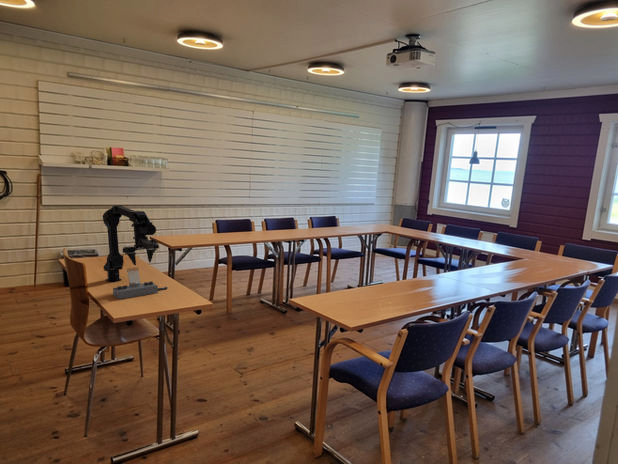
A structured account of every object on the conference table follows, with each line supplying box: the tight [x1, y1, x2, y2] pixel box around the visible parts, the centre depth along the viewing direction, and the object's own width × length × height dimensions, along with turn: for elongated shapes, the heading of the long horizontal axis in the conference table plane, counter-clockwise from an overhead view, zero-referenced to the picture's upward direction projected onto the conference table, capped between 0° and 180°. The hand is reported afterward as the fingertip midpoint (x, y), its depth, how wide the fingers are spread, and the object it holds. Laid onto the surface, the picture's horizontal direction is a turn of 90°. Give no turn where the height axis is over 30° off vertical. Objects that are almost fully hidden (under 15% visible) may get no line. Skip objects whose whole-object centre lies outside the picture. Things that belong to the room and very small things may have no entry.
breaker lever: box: [126, 266, 141, 287], centre depth 224 cm, size 2×5×9 cm, turn 132°
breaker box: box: [112, 281, 168, 300], centre depth 226 cm, size 8×27×5 cm, turn 133°
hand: (142, 263), depth 231 cm, fingers open, 9 cm apart
